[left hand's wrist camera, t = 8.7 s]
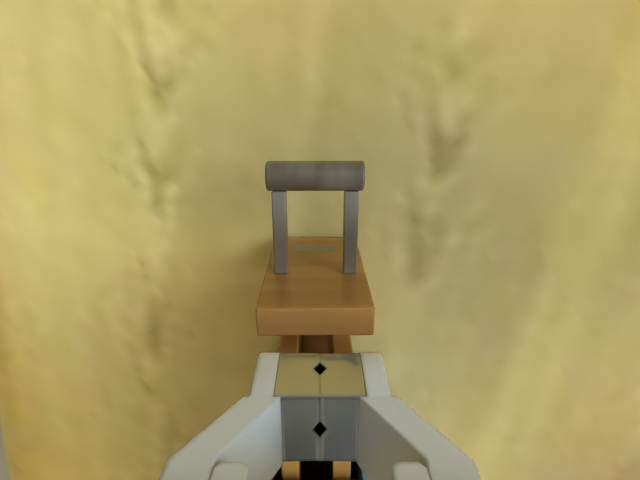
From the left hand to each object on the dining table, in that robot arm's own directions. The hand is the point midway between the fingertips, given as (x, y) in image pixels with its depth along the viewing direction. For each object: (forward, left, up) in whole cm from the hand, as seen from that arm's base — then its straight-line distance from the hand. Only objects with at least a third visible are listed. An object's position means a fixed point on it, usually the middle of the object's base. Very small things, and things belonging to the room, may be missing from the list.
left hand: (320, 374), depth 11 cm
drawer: (+3, +7, -14) cm, 16 cm away
